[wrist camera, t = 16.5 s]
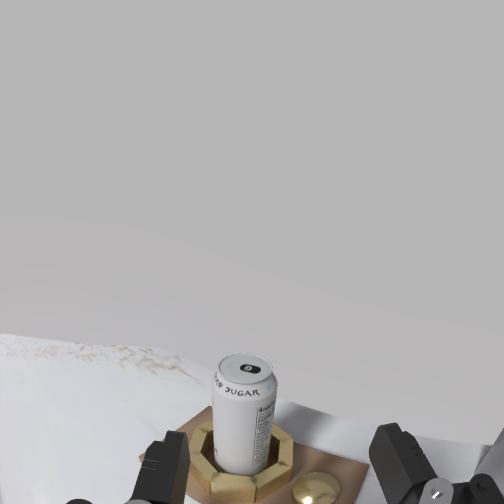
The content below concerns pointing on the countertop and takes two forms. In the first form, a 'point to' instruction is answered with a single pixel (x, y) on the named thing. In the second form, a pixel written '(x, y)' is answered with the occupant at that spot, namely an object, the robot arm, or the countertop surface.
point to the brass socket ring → (265, 483)
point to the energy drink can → (243, 413)
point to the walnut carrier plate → (303, 463)
